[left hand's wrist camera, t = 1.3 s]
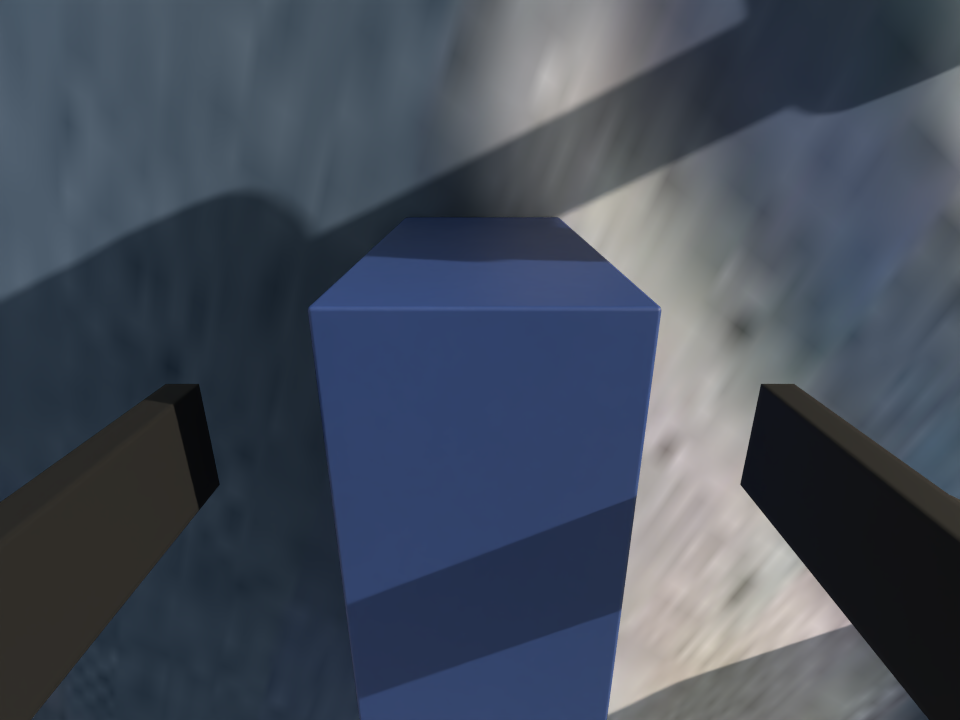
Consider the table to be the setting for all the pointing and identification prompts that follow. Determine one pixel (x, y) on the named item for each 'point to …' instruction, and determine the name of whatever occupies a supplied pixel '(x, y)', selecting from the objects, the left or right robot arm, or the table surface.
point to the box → (483, 465)
